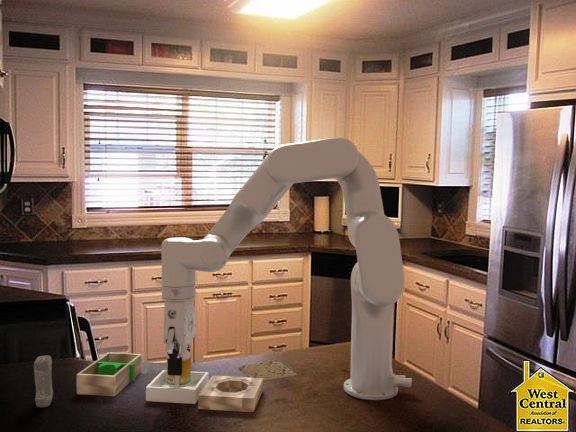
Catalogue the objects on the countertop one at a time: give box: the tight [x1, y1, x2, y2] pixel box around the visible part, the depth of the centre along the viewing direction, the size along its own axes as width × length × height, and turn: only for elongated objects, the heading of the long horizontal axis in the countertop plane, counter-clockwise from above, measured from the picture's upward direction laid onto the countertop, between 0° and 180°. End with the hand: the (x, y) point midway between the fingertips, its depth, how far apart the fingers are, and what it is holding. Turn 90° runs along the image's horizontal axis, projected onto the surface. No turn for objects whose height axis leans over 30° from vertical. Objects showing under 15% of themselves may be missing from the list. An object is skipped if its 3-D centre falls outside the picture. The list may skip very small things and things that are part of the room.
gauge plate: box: [197, 375, 264, 413], centre depth 124 cm, size 12×12×3 cm
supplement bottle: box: [166, 341, 192, 388], centre depth 128 cm, size 5×5×10 cm
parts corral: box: [76, 351, 143, 397], centre depth 134 cm, size 9×16×4 cm, turn 173°
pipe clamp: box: [91, 360, 136, 383], centre depth 134 cm, size 10×4×4 cm, turn 81°
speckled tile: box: [237, 360, 298, 382], centre depth 143 cm, size 12×12×1 cm
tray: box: [145, 369, 210, 405], centre depth 128 cm, size 11×11×3 cm
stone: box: [33, 354, 54, 408], centre depth 121 cm, size 3×6×10 cm, turn 13°
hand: (179, 369), depth 128 cm, fingers closed on supplement bottle, 5 cm apart
